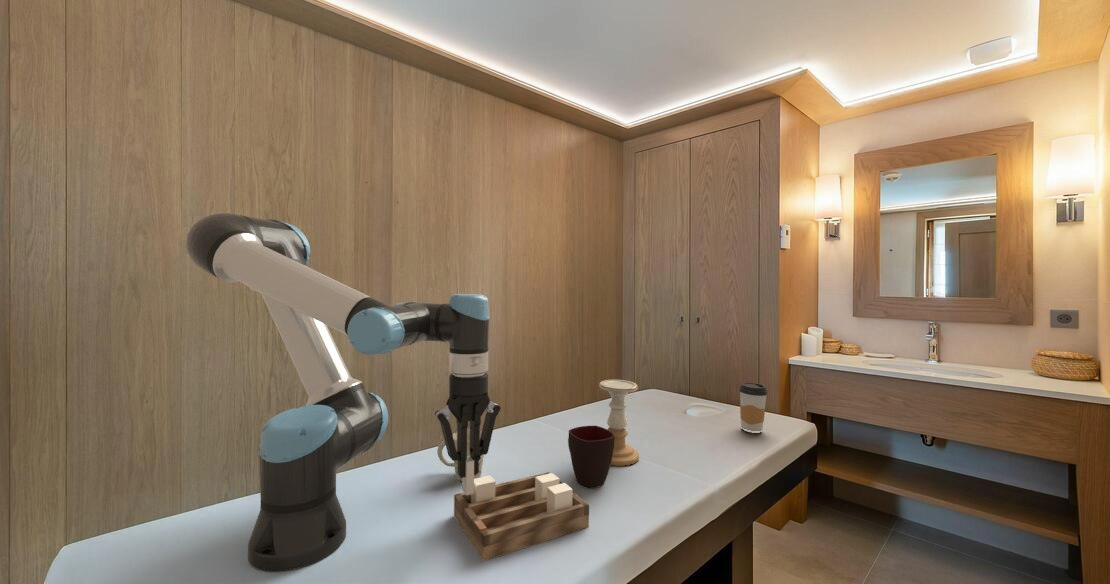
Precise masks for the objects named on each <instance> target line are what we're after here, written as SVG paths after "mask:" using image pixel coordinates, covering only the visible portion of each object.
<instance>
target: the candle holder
mask: <svg viewBox="0 0 1110 584" xmlns="http://www.w3.org/2000/svg"><path fill="white" fill-rule="evenodd" d="M598 386H599V388H600V389H601V390H604V391H606V392H608V393H609V395H610V397H611V401H609V402H608V407H609V408H610V409H609V410H610V411H609V414H608V417H607V422H606V423H607V426H608V428H606V429H607V430H609V431H610V432H612V433H613V434H614V436H615V441H614V450H613V456H612V460H611V464H610V466H613V467H614V466H615V467H616V466H617V467H626V466H625V465H627V466H631V465H630V464H632V465H634V464H636V463H637V462H638V461H639V459H640V453H639V451H638V450H636V449H635V448H634V447H632V446H631V445H630V444H628V443H626V437H627V436H628V434H629V433H628V430H627V429H626V427H627V426H628V419H627V416H626V409H627V407H628V404H627V403H626V401H625V398H626V396H627V395H628V394H629V393H633V392H635V391H637V390H638V388H639V385H638V384H637V383H635V382H634V381H630V380H623V379H605V380H602V381H600V382H599V384H598ZM635 462H636V463H635ZM633 463H634V464H633Z"/></svg>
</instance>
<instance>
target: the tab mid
mask: <svg viewBox="0 0 1110 584" xmlns="http://www.w3.org/2000/svg"><path fill="white" fill-rule="evenodd" d="M549 473H550V474H546V475H541V476H537V477H535V501H539V500H543V499H546V498H547V487H550V486H554V485H558V484H559V481H560V478H559V477H558V476H557V475H555V474H554V473H553V472H549Z"/></svg>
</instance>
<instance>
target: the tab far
mask: <svg viewBox="0 0 1110 584" xmlns="http://www.w3.org/2000/svg"><path fill="white" fill-rule="evenodd" d="M495 485H497V484H496V480H495V479H494V478H493V477H492V476H491V475H490V474H489V475H485V476H480V478H476V479H474V494H471V504H473V503H477V502H481V501H485V500H489V499H493V498H495Z"/></svg>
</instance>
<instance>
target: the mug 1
mask: <svg viewBox="0 0 1110 584" xmlns="http://www.w3.org/2000/svg"><path fill="white" fill-rule="evenodd" d="M481 433H482V430H480V437H481ZM452 435H453V439H454V443H455V447H456V451H457V431H456V432H454V433H452ZM445 447H446V444H445V440H444V439H443V440H442V441H441V442H440V443H439V445H438V447H437V457H438V459H439V460H440V462H441V463H442V464H443V465H445V466H447V467H453V468H454V473H455V474H454V475H455V478H456V479H457V480H458V481H461V482H462V478H460V476H459V475H458V461H457V460H456V461H453V462H449V461H447V459H445V457H444V454H443V451H444V450H443V449H444V448H445ZM467 456H470V428H469V429H468V428H467ZM480 457H481V459H480V460H479V465H478V474H476V475H474V479H476V478H480V477H482V471H483V470H482V469H483V464H484V458H485V455H484V454H483V455H481V456H480Z"/></svg>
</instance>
